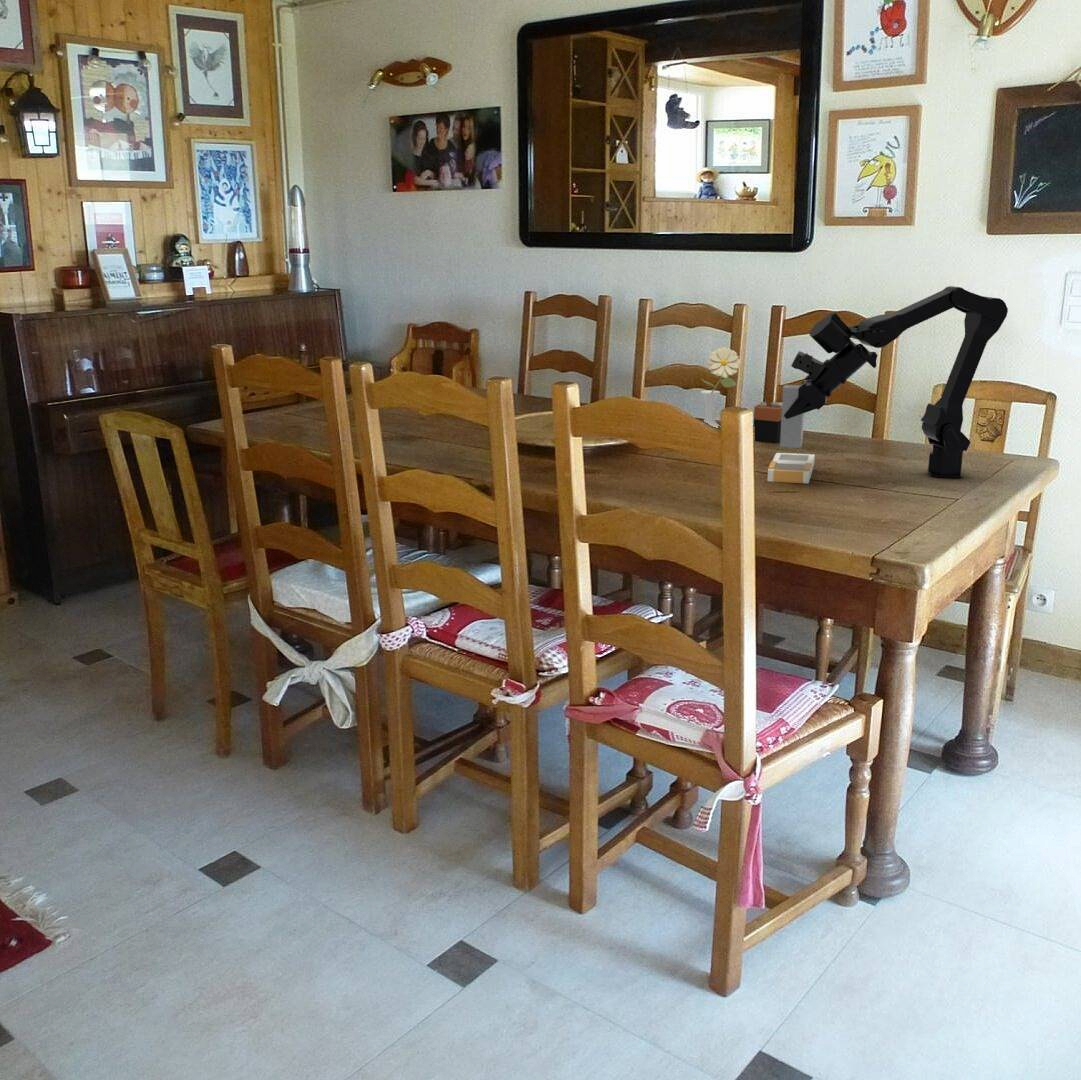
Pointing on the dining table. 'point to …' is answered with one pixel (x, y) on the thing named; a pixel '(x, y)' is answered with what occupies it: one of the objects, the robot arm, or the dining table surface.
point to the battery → (767, 422)
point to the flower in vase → (723, 366)
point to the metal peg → (791, 420)
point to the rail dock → (791, 468)
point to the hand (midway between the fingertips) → (786, 415)
